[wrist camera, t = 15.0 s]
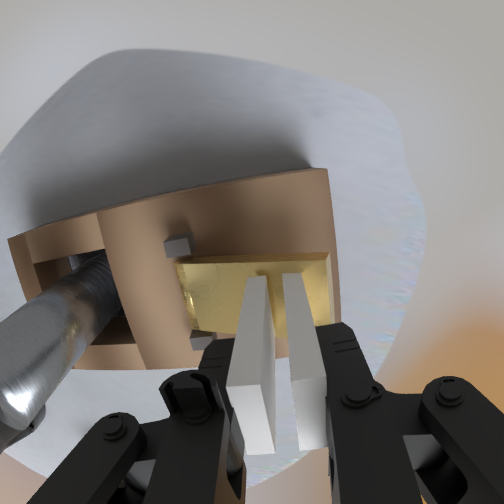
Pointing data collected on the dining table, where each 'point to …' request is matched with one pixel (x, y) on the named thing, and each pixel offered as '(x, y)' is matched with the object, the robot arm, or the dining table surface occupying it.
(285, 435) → the dining table surface
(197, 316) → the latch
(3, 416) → the peg
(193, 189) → the block
